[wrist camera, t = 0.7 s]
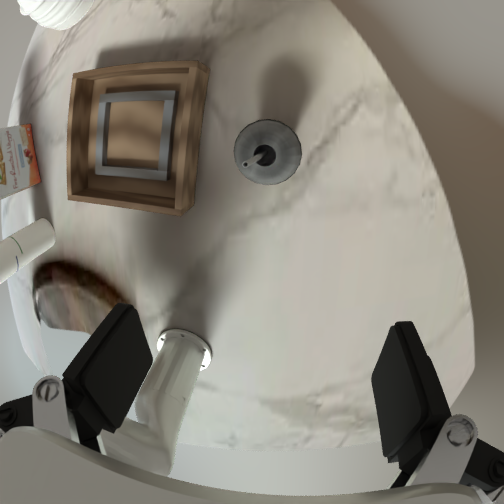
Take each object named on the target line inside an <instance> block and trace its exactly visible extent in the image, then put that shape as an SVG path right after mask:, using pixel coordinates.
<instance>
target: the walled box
mask: <svg viewBox="0 0 504 504" xmlns="http://www.w3.org/2000/svg"><path fill="white" fill-rule="evenodd" d="M209 72H210V69H209V68H208V67H206V66H205V65H204V64H202V63H201V62H199V61H161V62H146V63H135V64H126V65H118V66H111V67H105V68H99V69H93V70H88V71H83V72H78V73H73V79H72V86H71V94H70V103H69V114H68V129H67V193H68V200H72V201H79V202H87V203H94V204H101V205H108V206H115V207H122V208H129V209H136V210H142V211H149V212H155V213H162V214H168V215H175V216H182V215H183V214H184V213H185V212H186V211H188V210H189V209H190V208H191V207H192V206H193V205H194V197H195V185H196V174H197V164H198V154H199V145H200V136H201V128H202V120H203V113H204V105H205V98H206V91H207V85H208V78H209Z"/></svg>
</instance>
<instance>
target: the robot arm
mask: <svg viewBox="0 0 504 504" xmlns="http://www.w3.org/2000/svg"><path fill="white" fill-rule="evenodd" d="M157 348H158V351H159V353H158V355H157V357H156V359H155V361H154V363H153V365H152V362H153V357H152V354H151V351H150V348H149V345H148V343H147V340H146V337H145V334H144V331H143V327H142V324H141V321H140V318H139V315H138V312H137V310H136V309H134V307H133V305H130V304H124V303H117V304H116V305H115V307H114V308H113V309H112V310H111V311H110V313H109V314H108V315H107V316H106V318H105V319H104V320H103V321H102V323H101V324H100V325H99V326H98V328H97V329H96V330H95V332H94V333H93V334H92V335H91V337H90V338H89V339H88V341H87V342H86V343H85V345H84V346H83V347H82V348H81V350H80V351H79V353H78V354H77V355H76V356H75V358H74V359H73V361H72V362H71V363H70V365H69V366H68V367H67V369H66V370H65V372H64V373H63V377H64V378H63V379H62V380H60V378H58V377H57V376H53V375H51V376H46V377H43V378H41V379H40V380H39V381H38V382H37V383H36V384H35V386H34V388H33V394H32V395H29V396H26V397H23V398H19V399H16V400H12V401H9V402H6V403H4V404H3V405H1V406H0V504H504V453H503V452H502V451H500V450H498V449H496V448H495V447H493V446H491V445H489V444H487V443H486V442H484V441H482V440H480V439H478V438H477V436H478V431H477V427H476V425H475V423H474V421H473V420H472V419H471V418H469V417H468V416H466V415H462V414H458V415H457V414H456V415H454V416H451V412H450V409H449V406H448V403H447V400H446V398H445V395H444V392H443V389H442V386H441V384H440V381H439V378H438V376H437V373H436V371H435V368H434V366H433V363H432V361H431V359H430V357H429V356H427V353H426V351H425V349H424V346H423V344H422V342H421V339H420V337H419V335H418V333H417V330H416V328H415V326H414V324H413V322H411V321H400V322H396V323H395V325H394V326H391V327H390V330H389V333H388V335H387V338H386V341H385V343H384V346H383V349H382V351H381V354H380V356H379V359H378V361H377V364H376V366H375V368H374V371H373V373H372V378H371V382H372V387H373V393H374V398H375V404H376V409H377V415H378V422H379V428H380V435H381V442H382V450H383V455H384V457H387V458H388V463H392V462H399V469H400V470H399V472H398V473H397V474H396V476H395V477H394V479H393V480H392V482H391V483H390V484H389V486H388V487H387V488H386V490H379V491H372V492H365V493H354V494H342V495H325V496H282V495H266V494H255V493H246V492H237V491H230V490H224V489H217V488H212V487H206V486H202V485H197V484H192V483H189V482H184V481H180V480H176V479H172V478H169V477H167V476H168V475H169V474H170V472H171V470H172V468H173V465H174V460H175V452H176V445H177V439H178V435H179V431H180V427H181V424H182V421H183V418H184V415H185V412H186V409H187V406H188V403H189V401H190V398H191V395H192V392H193V389H194V386H195V383H196V380H197V378H198V375H199V372H200V371H201V370H204V369H205V368H207V367H208V366H209V364H210V362H211V358H212V354H211V351H210V348H209V347H208V345H207V344H206V343H205V342H204V341H203V340H202V339H201V338H200V337H198V336H196V335H195V334H193V333H191V332H188V331H185V330H180V329H171V330H167V331H165V332H163V333H162V334H161V335H160V337H159V338H158V340H157ZM151 365H152V367H151ZM150 367H151V369H150ZM149 369H150V371H149ZM148 371H149V373H148ZM147 373H148V375H147ZM146 375H147V377H146ZM145 377H146V379H145ZM144 379H145V381H144ZM143 381H144V383H143ZM142 383H143V385H142ZM141 385H142V387H141ZM140 387H141V389H140ZM139 389H140V391H139ZM138 391H139V393H138ZM137 393H138V395H137ZM136 395H137V397H136ZM135 397H136V399H135ZM134 399H135V412H136V416H137V419H138V422H139V423H138V422H136V421H133V420H131V419H129V418H127V417H126V415H127V413H128V411H129V409H130V407H131V405H132V403H133V401H134Z"/></svg>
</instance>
